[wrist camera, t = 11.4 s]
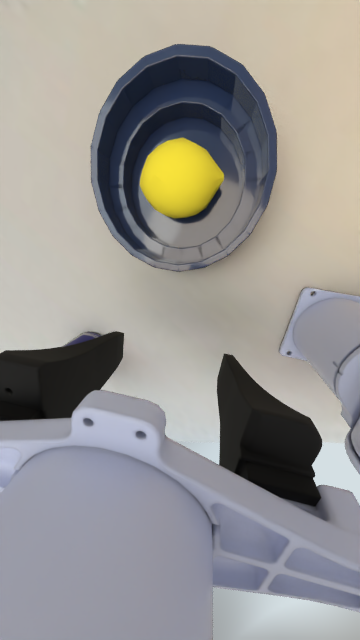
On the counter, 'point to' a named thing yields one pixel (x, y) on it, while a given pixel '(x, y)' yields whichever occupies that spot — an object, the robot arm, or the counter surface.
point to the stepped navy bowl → (196, 126)
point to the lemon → (180, 178)
